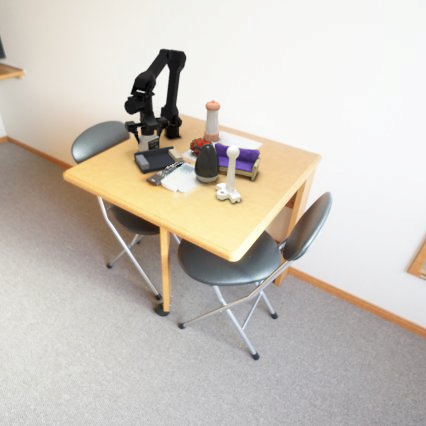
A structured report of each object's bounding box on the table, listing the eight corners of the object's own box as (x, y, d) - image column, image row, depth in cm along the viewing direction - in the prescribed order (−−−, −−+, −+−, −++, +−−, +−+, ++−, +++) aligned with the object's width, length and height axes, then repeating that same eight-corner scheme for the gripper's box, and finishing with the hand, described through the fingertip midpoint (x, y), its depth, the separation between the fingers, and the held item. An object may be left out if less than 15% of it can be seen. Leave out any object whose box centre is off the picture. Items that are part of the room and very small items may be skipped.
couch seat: (173, 153, 146) (172, 145, 144) (183, 165, 138) (183, 157, 135) (134, 161, 139) (133, 152, 137) (143, 173, 131) (142, 165, 128)
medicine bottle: (149, 156, 143) (147, 130, 136) (138, 151, 147) (135, 126, 140) (160, 150, 148) (158, 125, 141) (149, 146, 151) (147, 121, 144)
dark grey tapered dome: (194, 172, 133) (195, 137, 124) (219, 173, 133) (222, 139, 124) (192, 184, 125) (192, 149, 116) (218, 186, 125) (221, 151, 116)
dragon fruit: (187, 158, 146) (210, 157, 151) (194, 155, 138) (218, 154, 144) (184, 140, 146) (207, 139, 151) (192, 135, 138) (216, 135, 144)
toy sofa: (206, 171, 134) (206, 148, 128) (212, 162, 141) (214, 140, 135) (254, 181, 129) (257, 159, 123) (259, 171, 136) (262, 149, 129)
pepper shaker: (205, 135, 164) (206, 97, 152) (219, 136, 163) (221, 98, 152) (203, 141, 158) (204, 102, 147) (217, 142, 158) (220, 103, 146)
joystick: (242, 200, 118) (249, 151, 106) (226, 206, 115) (230, 156, 102) (225, 186, 125) (229, 138, 113) (209, 191, 122) (211, 143, 110)
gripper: (129, 117, 126) (133, 153, 135) (173, 111, 133) (174, 146, 143) (122, 108, 134) (126, 143, 143) (164, 103, 141) (165, 136, 151)
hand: (148, 142), depth 145 cm, fingers closed on medicine bottle, 9 cm apart
